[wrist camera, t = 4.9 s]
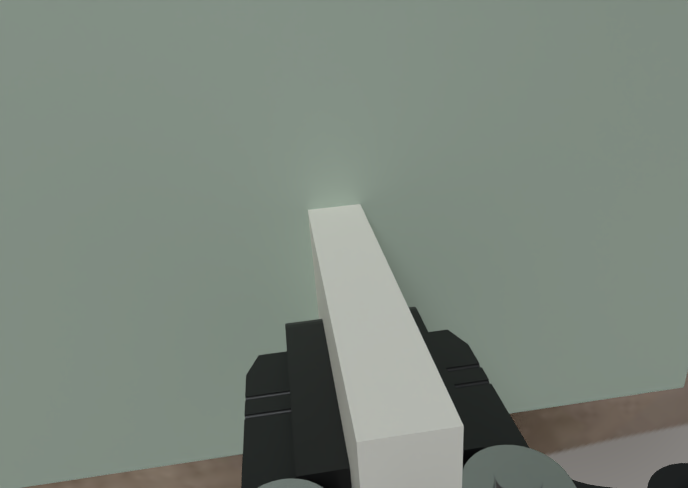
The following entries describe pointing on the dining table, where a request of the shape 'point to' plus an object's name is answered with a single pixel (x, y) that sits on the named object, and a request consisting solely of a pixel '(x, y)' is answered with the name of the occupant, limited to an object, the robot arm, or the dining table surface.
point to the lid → (331, 217)
